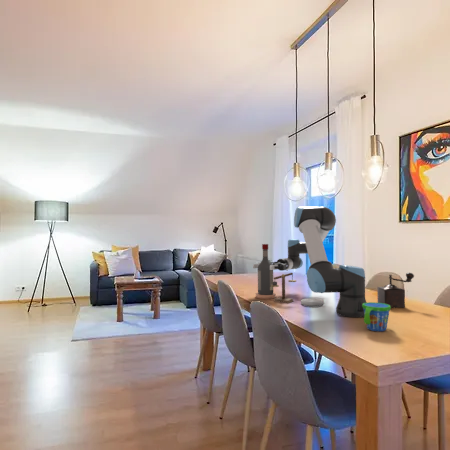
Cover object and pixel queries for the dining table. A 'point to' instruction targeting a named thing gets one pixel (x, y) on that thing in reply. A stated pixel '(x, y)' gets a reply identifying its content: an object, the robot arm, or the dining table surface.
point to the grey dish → (312, 302)
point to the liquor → (265, 274)
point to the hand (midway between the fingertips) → (261, 266)
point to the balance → (283, 288)
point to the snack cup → (376, 315)
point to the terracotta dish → (265, 296)
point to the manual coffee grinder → (393, 293)
